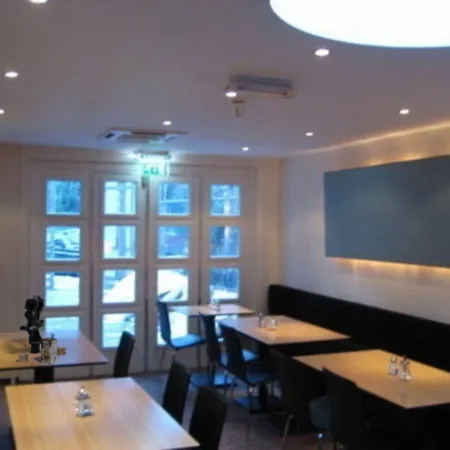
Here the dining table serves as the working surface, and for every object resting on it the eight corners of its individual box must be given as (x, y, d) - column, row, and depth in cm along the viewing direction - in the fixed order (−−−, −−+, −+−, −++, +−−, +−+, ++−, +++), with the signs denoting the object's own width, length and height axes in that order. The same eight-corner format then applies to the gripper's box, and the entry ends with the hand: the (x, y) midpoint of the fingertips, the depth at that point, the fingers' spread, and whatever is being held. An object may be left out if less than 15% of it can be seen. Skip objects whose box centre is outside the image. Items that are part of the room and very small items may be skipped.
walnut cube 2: (61, 353, 437) (61, 346, 436) (65, 354, 434) (65, 347, 434) (55, 355, 432) (55, 347, 432) (60, 356, 430) (60, 348, 429)
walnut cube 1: (20, 360, 415) (20, 353, 415) (28, 360, 415) (28, 353, 415) (18, 362, 410) (18, 354, 410) (25, 362, 410) (25, 354, 410)
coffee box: (40, 362, 410) (40, 339, 409) (46, 360, 415) (46, 337, 415) (51, 363, 406) (51, 340, 406) (57, 361, 412) (57, 338, 412)
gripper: (32, 319, 415) (32, 341, 416) (49, 315, 433) (49, 336, 433) (19, 318, 419) (19, 340, 419) (36, 314, 437) (36, 335, 437)
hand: (31, 338), depth 427 cm, fingers closed
